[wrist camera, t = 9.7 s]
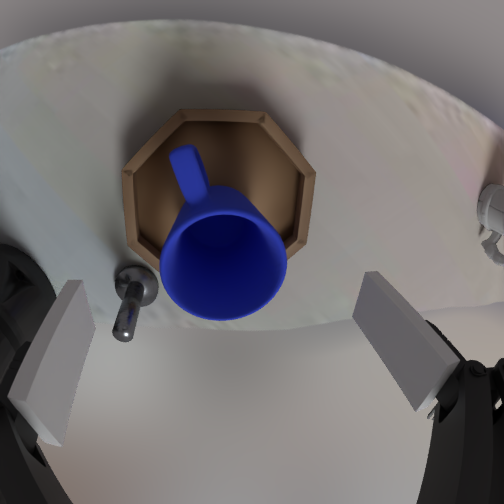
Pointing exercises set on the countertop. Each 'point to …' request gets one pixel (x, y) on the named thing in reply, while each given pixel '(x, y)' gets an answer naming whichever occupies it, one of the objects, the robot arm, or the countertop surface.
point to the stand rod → (133, 298)
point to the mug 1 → (218, 248)
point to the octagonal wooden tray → (218, 176)
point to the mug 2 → (492, 219)
